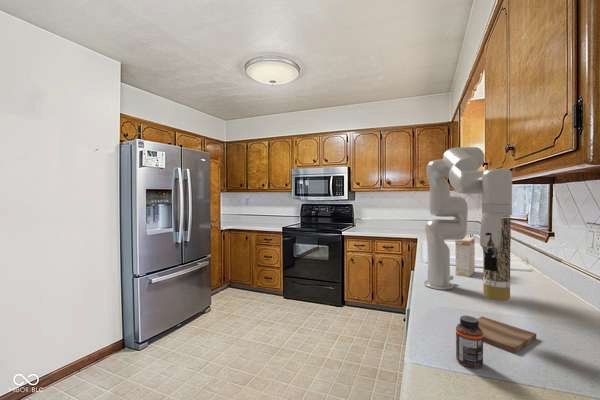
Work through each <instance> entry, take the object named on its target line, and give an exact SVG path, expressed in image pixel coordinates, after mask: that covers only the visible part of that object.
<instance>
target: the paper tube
mask: <svg viewBox="0 0 600 400" xmlns="http://www.w3.org/2000/svg"><path fill="white" fill-rule="evenodd" d="M501 219H502V236H501V244H500V248H498V249H497V252H496V256H495V258H497V271H490V270H485V269H484V252H483V253H482V254H483V256H482V257H483V259H482V260H483V263H482V264H483V267H482V269H483V270H482V272H483V274H482V276H483V277H482V278H483V279H482V280H483V281H482V284H483V285H482V287H483V293H482V294H483V296H484V297H486V298H487V299H489V300H492V301H501V302H505V301H509V300H510V298H511V243H510V225H511V215H510V216H503V217H502V218H501ZM489 246H492V247H494V243H493V242H492V240H491V242H490V244H489ZM491 251H492V252H493V249H491Z"/></svg>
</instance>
